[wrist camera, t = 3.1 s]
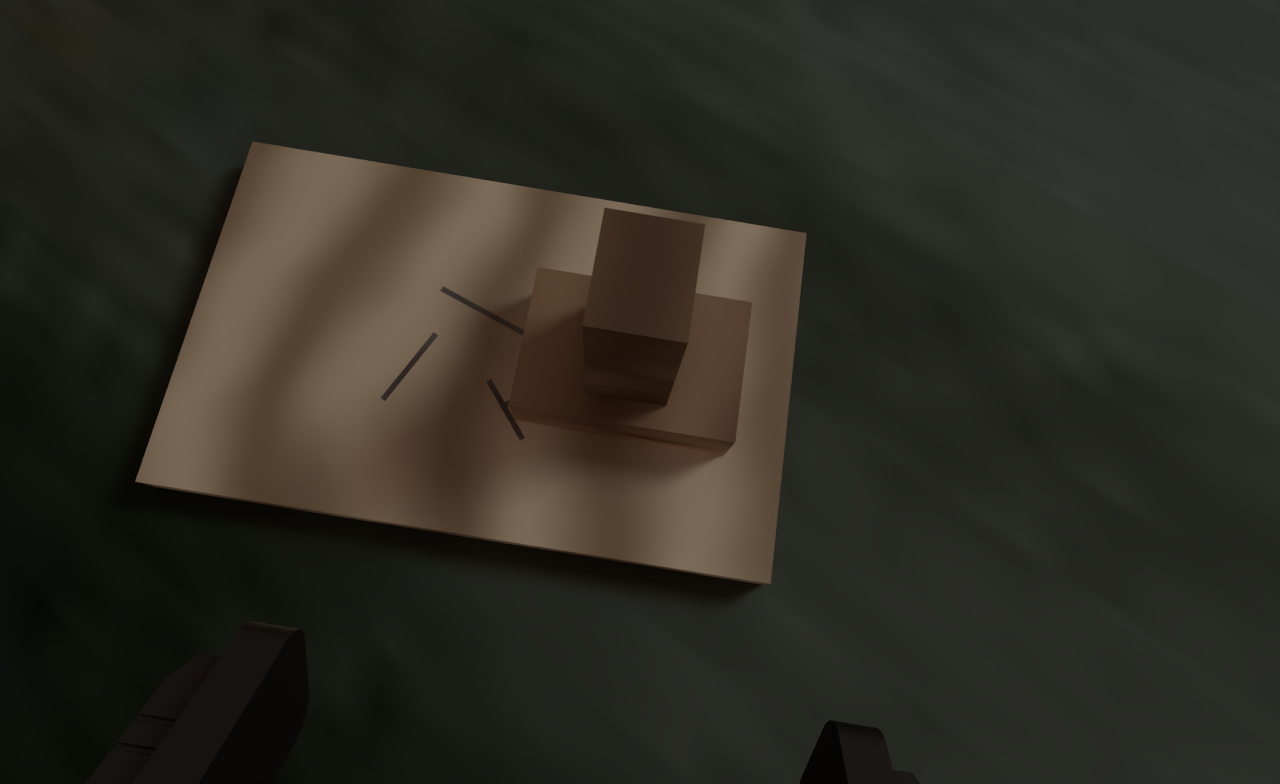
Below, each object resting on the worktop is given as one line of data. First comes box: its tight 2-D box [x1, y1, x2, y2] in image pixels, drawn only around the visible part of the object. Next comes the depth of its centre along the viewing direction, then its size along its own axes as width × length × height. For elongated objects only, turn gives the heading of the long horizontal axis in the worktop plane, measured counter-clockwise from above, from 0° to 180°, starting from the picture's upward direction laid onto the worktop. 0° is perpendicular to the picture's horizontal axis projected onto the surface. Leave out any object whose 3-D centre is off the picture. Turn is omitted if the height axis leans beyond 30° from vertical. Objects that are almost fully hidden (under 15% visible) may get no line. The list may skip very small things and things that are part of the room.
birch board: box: [135, 142, 806, 585], centre depth 33 cm, size 26×16×2 cm, turn 81°
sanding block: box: [508, 208, 752, 455], centre depth 28 cm, size 9×6×10 cm, turn 81°
